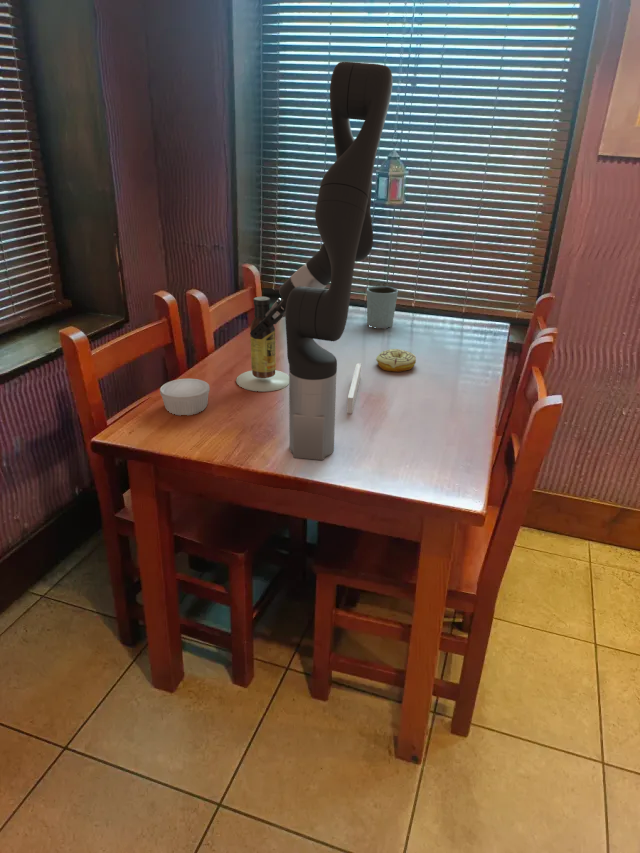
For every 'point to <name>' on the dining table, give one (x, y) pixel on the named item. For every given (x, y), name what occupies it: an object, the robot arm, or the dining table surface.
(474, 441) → the dining table surface
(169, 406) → the ramekin
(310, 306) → the robot arm
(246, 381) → the sage pad
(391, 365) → the decorated donut
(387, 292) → the grey tapered cup
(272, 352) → the sauce bottle
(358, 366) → the frosted wall
